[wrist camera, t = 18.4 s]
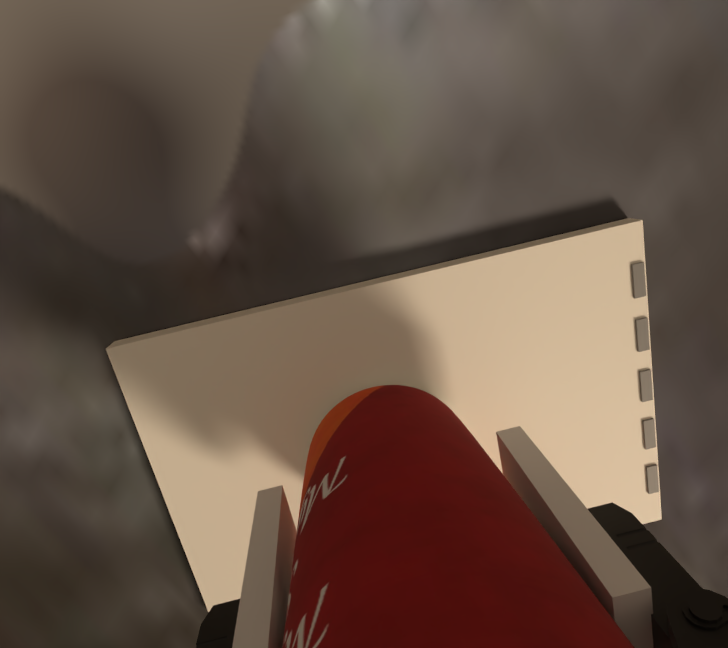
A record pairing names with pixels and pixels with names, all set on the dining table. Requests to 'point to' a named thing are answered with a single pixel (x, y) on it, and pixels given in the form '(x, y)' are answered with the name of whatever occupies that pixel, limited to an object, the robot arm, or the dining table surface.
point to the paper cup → (425, 541)
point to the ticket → (404, 380)
